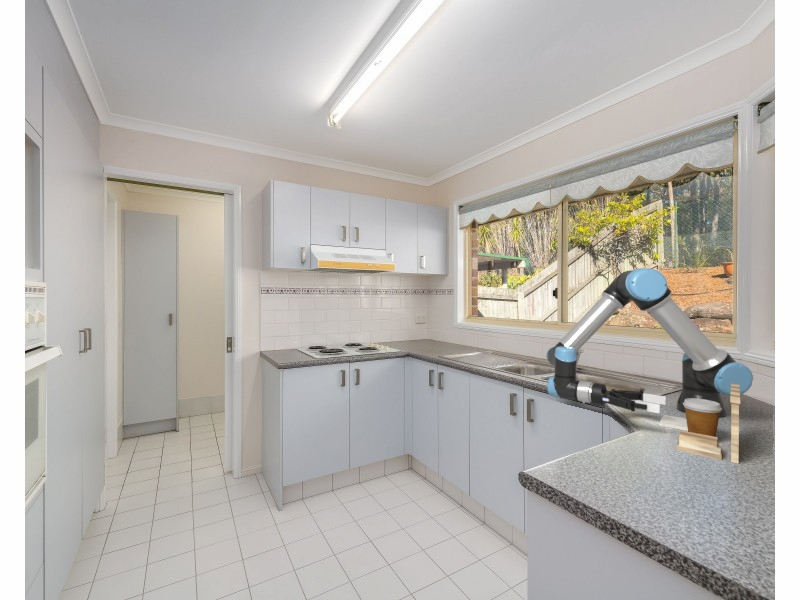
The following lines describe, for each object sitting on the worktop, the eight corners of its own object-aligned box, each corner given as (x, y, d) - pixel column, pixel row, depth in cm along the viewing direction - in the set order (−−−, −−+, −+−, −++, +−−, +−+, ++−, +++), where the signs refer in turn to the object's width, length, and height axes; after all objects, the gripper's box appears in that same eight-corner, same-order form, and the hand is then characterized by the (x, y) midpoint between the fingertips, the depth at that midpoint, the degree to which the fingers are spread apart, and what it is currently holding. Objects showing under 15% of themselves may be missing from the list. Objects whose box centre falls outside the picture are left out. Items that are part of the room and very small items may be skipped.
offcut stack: (678, 445, 115) (678, 429, 115) (722, 454, 109) (722, 437, 109) (676, 451, 111) (676, 434, 111) (721, 460, 105) (721, 443, 105)
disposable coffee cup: (729, 447, 113) (729, 407, 113) (692, 444, 115) (692, 405, 115) (710, 436, 123) (710, 398, 123) (676, 434, 125) (676, 397, 125)
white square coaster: (664, 417, 142) (664, 414, 142) (705, 424, 134) (705, 421, 134) (659, 425, 133) (659, 422, 133) (703, 433, 125) (703, 430, 125)
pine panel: (730, 437, 122) (731, 383, 122) (739, 439, 120) (739, 384, 120) (729, 462, 103) (730, 398, 103) (739, 464, 102) (740, 399, 102)
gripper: (601, 397, 149) (667, 408, 135) (582, 410, 130) (656, 425, 116) (601, 377, 149) (668, 386, 135) (582, 388, 130) (657, 400, 116)
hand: (663, 404), depth 126 cm, fingers open, 13 cm apart
